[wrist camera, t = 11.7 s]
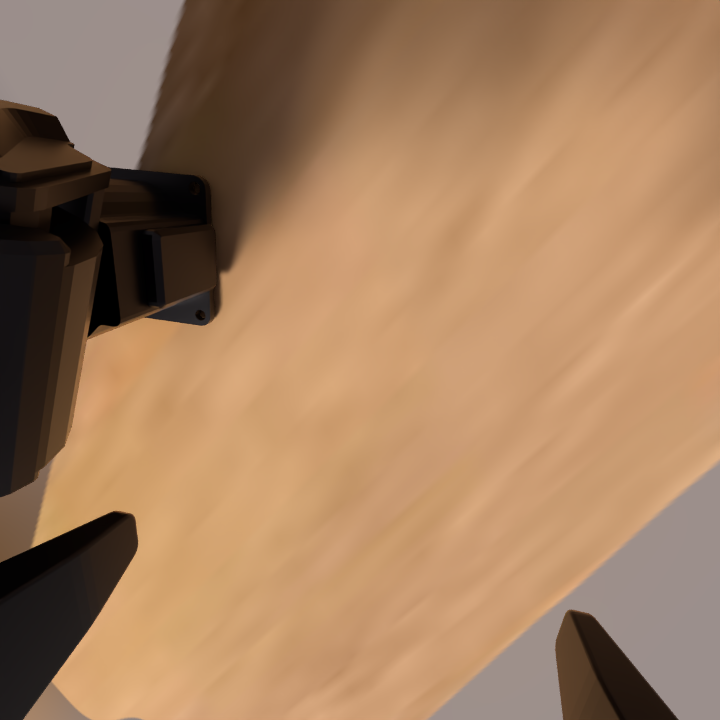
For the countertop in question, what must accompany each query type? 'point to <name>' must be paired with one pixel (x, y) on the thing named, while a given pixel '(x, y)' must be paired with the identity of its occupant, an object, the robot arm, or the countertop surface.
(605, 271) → the countertop surface
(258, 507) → the countertop surface
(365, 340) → the countertop surface
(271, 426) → the countertop surface
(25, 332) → the robot arm
